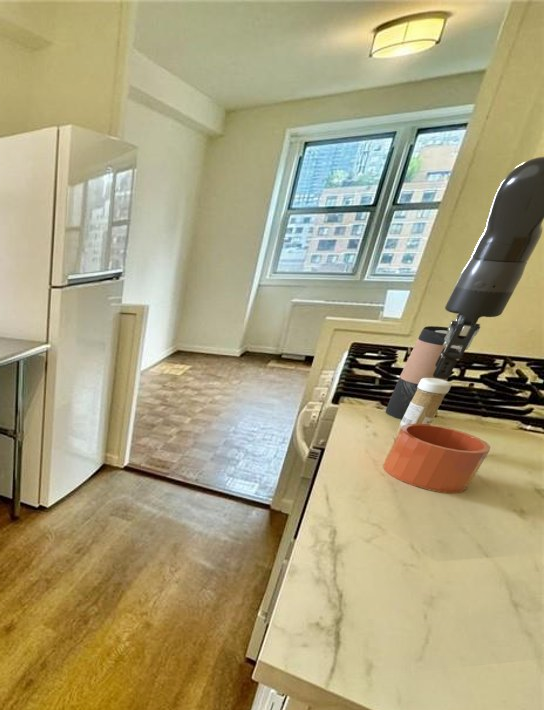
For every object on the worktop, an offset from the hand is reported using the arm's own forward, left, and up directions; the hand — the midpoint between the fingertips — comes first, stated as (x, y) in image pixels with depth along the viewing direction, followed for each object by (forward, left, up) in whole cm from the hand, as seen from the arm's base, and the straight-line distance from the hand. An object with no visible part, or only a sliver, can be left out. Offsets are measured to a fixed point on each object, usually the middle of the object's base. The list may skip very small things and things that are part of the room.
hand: (440, 372), depth 94 cm
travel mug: (-12, -12, -15) cm, 23 cm away
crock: (+10, +13, -15) cm, 22 cm away
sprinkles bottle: (0, 0, -15) cm, 15 cm away
